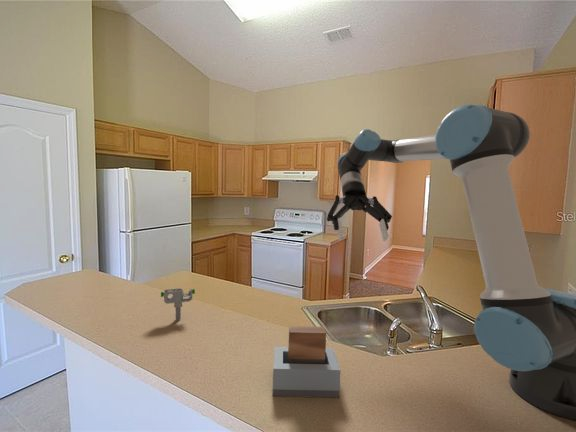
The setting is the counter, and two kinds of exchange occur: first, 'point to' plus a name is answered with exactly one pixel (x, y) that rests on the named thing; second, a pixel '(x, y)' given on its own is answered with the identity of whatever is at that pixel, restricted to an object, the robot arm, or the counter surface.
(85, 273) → the counter surface
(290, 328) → the brown wood block
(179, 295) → the mechanical component
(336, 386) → the frame block
